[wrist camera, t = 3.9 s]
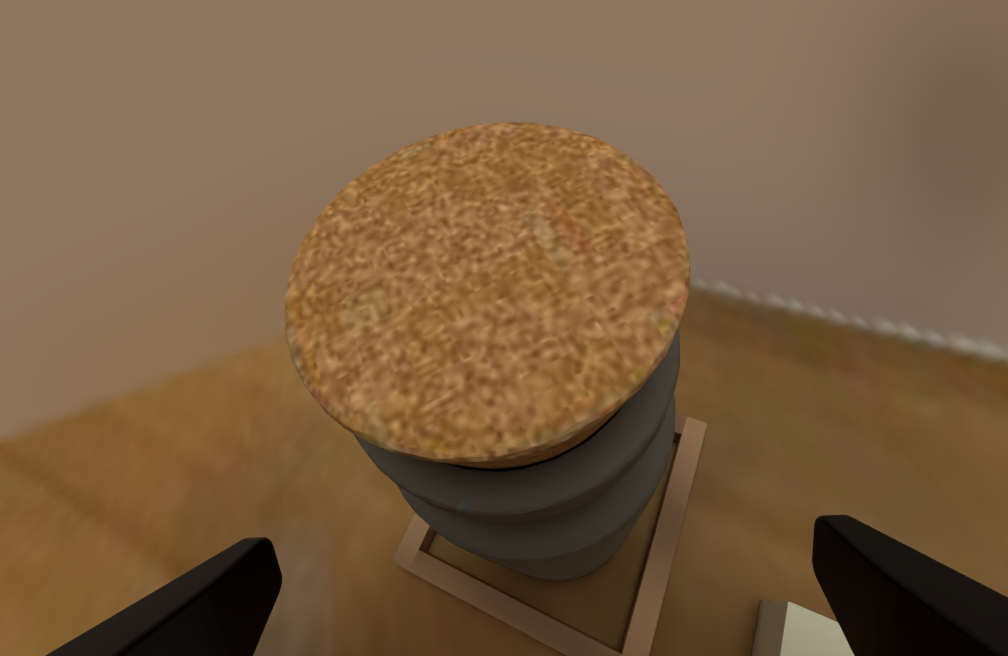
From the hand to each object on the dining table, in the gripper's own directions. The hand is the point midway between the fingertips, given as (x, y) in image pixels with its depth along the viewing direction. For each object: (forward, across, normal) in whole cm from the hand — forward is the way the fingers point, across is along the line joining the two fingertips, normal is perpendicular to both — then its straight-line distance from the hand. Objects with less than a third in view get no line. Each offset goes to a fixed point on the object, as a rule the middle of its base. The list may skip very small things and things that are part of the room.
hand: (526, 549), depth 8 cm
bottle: (+10, 0, +6) cm, 11 cm away
